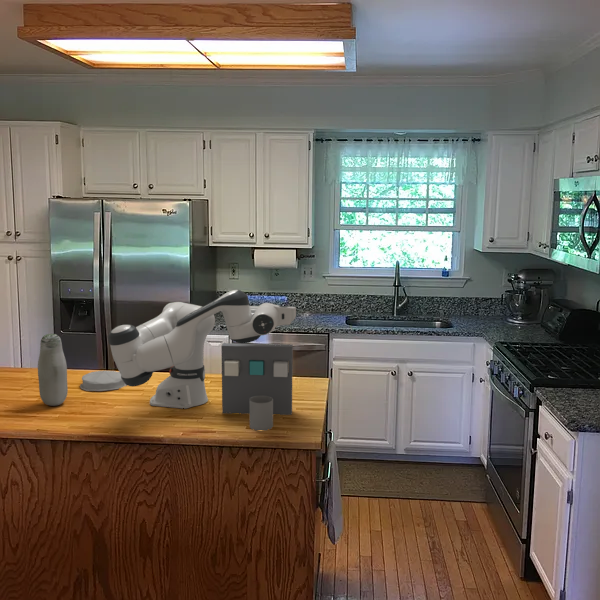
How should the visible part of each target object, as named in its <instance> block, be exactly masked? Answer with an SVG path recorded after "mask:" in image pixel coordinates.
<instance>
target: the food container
mask: <svg viewBox="0 0 600 600" xmlns="http://www.w3.org/2000/svg"><path fill="white" fill-rule="evenodd" d="M81 380H82V383H80V386H79V387H80V389H81V390H83V391H85V392H86V391H87V392H88V391H89V392H93V391H95V392H103V391H105V392H106V391H113V390H120V389H121V388H124V387H127V386H128V385H126V384H125V383H124V382H123V380H122V378H121V374H120V372H119V371H116V370H97V371H91V372H88V373H85V374H84V375H82V377H81ZM119 388H120V389H119Z"/></svg>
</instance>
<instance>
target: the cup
mask: <svg viewBox="0 0 600 600" xmlns="http://www.w3.org/2000/svg"><path fill="white" fill-rule="evenodd" d="M272 427H273V428H274V414H273V398H272V397H269V396H254V397H251V398H250V414H249V429H251V430H253V429H254V431H257V430H264V431H268V429H269V430H271V429H273V428H272Z"/></svg>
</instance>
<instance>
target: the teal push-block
mask: <svg viewBox="0 0 600 600" xmlns="http://www.w3.org/2000/svg"><path fill="white" fill-rule="evenodd" d="M263 374H264V360H250V375H263Z"/></svg>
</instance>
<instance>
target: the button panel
mask: <svg viewBox="0 0 600 600" xmlns="http://www.w3.org/2000/svg"><path fill="white" fill-rule="evenodd" d="M220 347H221V406H222V407H221V410H222V411H221V414H232V413H239V415H240V413H241V415H243V414H244V415H245V414H247V415H250V398H251V397H254V396H269V397H272V398H273V415H274V414H280V415H281V416H283V415H284V416H286V415H287V416H292V414H293V355H294V354H293V350H294V349H293V347H294V346H293V344H291V343H290V344H286V343H285V344H283V343H280V344H279V343H274V344H273V343H243V344H240V343H237V342H233V343H232V342H231V343H229V342H227V343H226V342H224V343H222V344H221V346H220ZM226 360H240V373H239V375H238V376H225V372H224V362H225V361H226ZM250 360H264V374H263V375H250ZM274 361H288V376H287V377H274Z"/></svg>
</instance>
